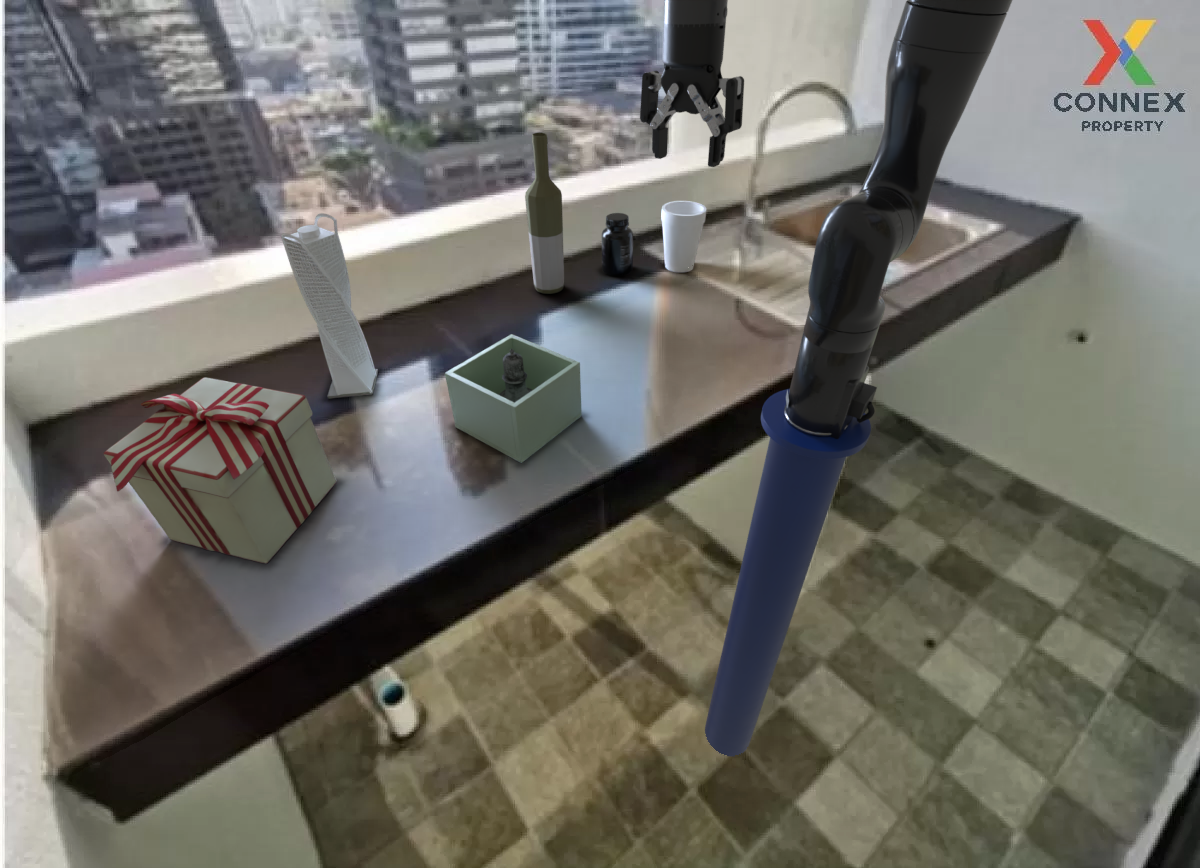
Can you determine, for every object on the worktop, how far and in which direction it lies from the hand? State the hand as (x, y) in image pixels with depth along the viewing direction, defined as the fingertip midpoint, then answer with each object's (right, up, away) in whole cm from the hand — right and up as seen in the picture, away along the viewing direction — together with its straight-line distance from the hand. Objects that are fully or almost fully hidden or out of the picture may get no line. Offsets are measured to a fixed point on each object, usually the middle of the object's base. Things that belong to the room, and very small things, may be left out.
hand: (686, 161), depth 83 cm
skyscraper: (-52, -30, +17) cm, 62 cm away
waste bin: (-24, -36, +9) cm, 44 cm away
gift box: (-56, -49, -6) cm, 74 cm away
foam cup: (+6, 0, +52) cm, 53 cm away
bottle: (-23, -7, +44) cm, 50 cm away
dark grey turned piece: (-24, -35, +9) cm, 44 cm away
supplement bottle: (-8, -1, +51) cm, 52 cm away
